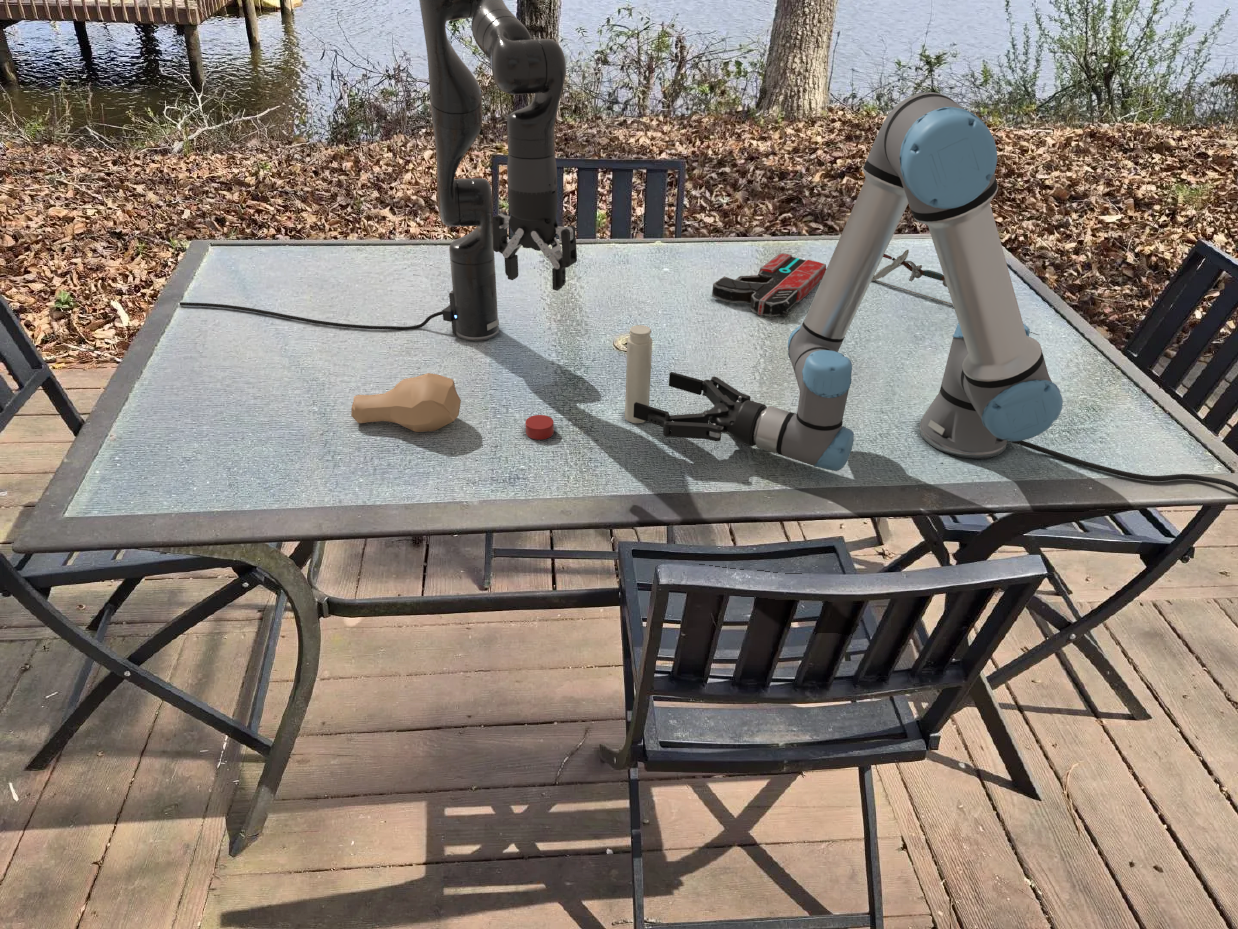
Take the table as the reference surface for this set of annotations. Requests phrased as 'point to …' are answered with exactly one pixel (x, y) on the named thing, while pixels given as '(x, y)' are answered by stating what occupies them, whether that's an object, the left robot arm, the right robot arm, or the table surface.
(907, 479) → the table surface
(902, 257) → the bow
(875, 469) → the table surface
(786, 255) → the gun
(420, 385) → the squash
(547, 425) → the lid
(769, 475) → the table surface
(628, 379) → the slim white bottle
